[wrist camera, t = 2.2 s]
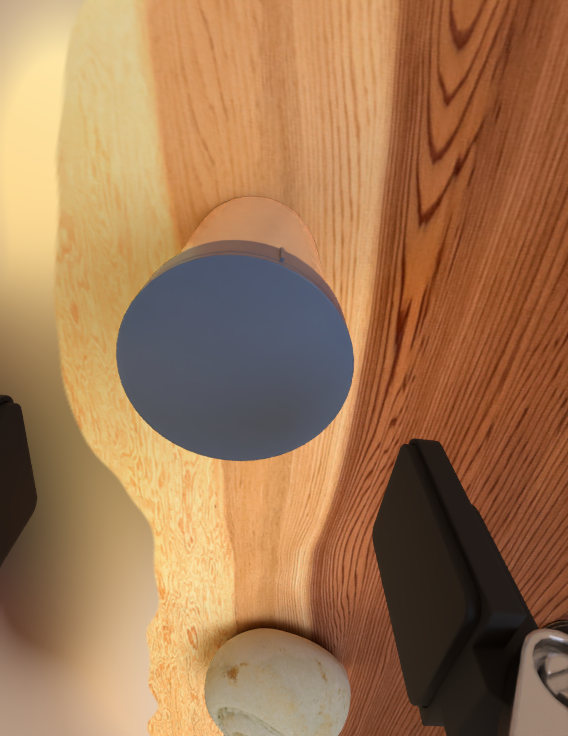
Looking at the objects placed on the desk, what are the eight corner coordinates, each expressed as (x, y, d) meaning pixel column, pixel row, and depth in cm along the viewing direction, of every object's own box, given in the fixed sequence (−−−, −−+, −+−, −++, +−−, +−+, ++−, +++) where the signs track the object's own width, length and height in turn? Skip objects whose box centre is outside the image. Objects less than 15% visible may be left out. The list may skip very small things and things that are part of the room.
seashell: (193, 772, 36) (211, 738, 30) (201, 660, 42) (216, 613, 36) (344, 766, 38) (387, 733, 32) (330, 661, 44) (364, 617, 39)
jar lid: (166, 196, 12) (151, 207, 11) (387, 290, 14) (399, 311, 12) (110, 394, 15) (94, 422, 14) (294, 454, 17) (296, 484, 15)
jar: (214, 173, 20) (162, 222, 11) (339, 228, 22) (381, 313, 13) (175, 294, 23) (109, 411, 14) (287, 337, 25) (291, 469, 16)
